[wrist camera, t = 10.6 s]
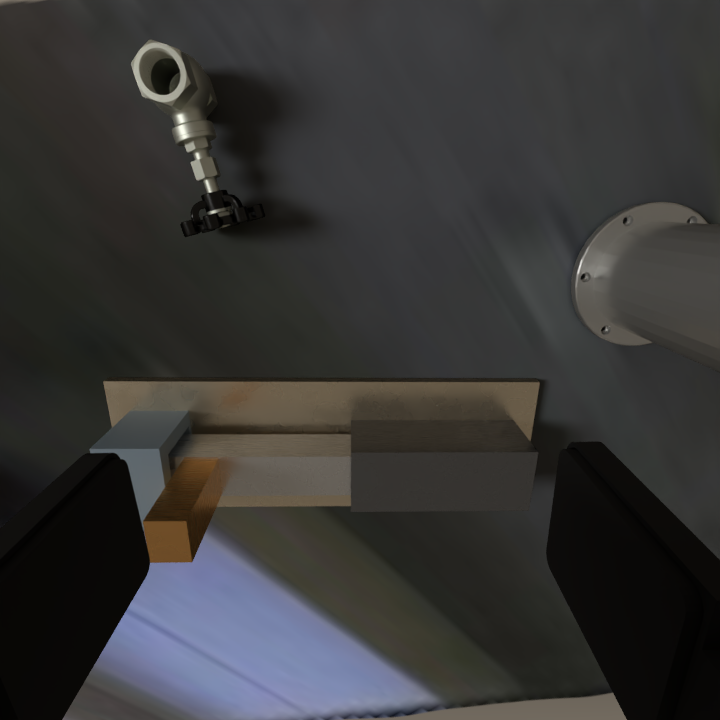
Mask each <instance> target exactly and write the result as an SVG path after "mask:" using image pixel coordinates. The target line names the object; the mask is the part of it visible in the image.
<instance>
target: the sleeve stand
mask: <svg viewBox="0 0 720 720" xmlns="http://www.w3.org/2000/svg"><path fill="white" fill-rule="evenodd" d="M103 382H104V388H105V393H106V398H107V403H108V408H109V414H110V419H111V424H112V427H114V426H115V425H116V424H117V423H118V422H119V421H120V420H121V419H122V418H123V417H124V416H125V415H126V414H127V413H128V412H129V411H189V417H190V425H191V433H192V434H351V495H301V496H221V497H220V500H219V502H218V504H217V507H249V506H351V512H383V511H529V507H530V501H531V495H532V489H533V483H534V477H535V471H536V465H537V459H538V453H539V452H538V451H537V450H536V448H535V447H534V446H533V444H532V443H531V435H532V429H533V423H534V416H535V410H536V404H537V397H538V391H539V385H540V382H539V381H538V380H537V379H536V378H127V377H109V378H107V379H106V380H105V381H103Z"/></svg>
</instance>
